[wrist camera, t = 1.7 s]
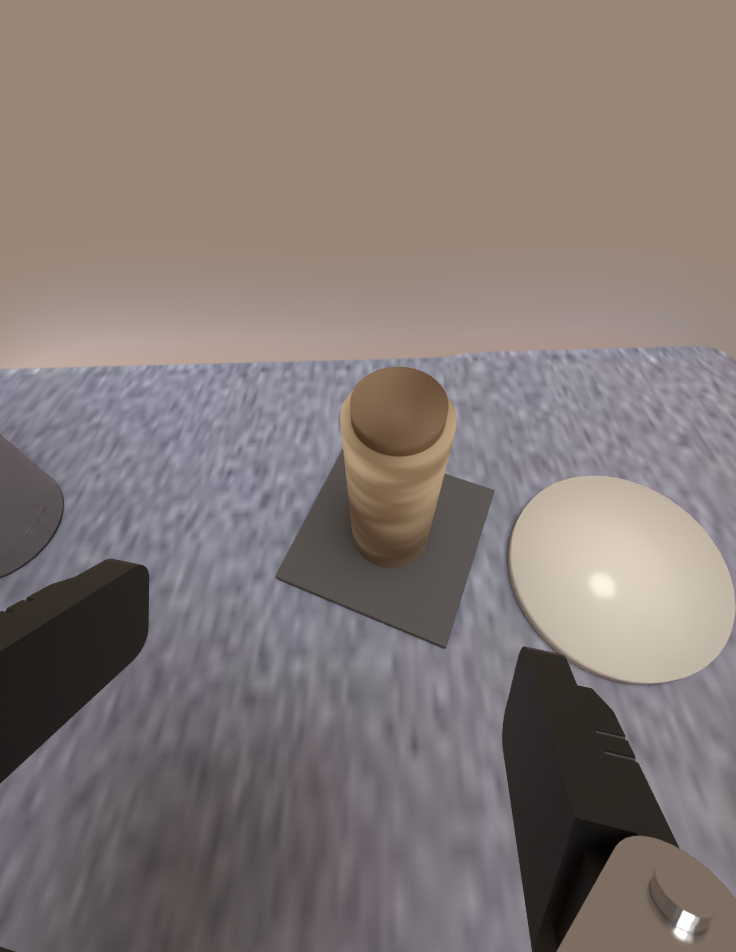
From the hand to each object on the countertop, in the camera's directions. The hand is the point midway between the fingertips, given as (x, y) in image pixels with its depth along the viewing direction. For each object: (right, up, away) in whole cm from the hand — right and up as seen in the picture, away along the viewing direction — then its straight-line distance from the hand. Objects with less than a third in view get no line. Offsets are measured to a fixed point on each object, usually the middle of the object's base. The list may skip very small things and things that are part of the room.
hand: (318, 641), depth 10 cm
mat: (+3, -1, +23) cm, 24 cm away
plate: (+18, -3, +22) cm, 28 cm away
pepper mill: (+3, 0, +23) cm, 23 cm away
